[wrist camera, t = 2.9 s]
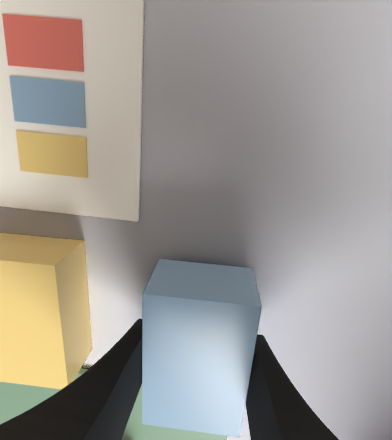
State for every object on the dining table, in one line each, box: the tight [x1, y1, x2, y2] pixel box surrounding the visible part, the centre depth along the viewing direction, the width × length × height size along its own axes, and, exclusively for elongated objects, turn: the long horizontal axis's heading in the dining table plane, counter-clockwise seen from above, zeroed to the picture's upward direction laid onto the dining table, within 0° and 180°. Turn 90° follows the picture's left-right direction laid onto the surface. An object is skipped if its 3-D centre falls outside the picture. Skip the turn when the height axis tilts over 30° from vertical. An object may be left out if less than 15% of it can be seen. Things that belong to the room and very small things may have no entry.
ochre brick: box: [0, 233, 92, 389], centre depth 14 cm, size 4×7×3 cm, turn 176°
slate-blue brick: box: [142, 259, 262, 437], centre depth 13 cm, size 4×7×3 cm, turn 176°
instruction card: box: [0, 0, 144, 222], centre depth 12 cm, size 8×10×1 cm
